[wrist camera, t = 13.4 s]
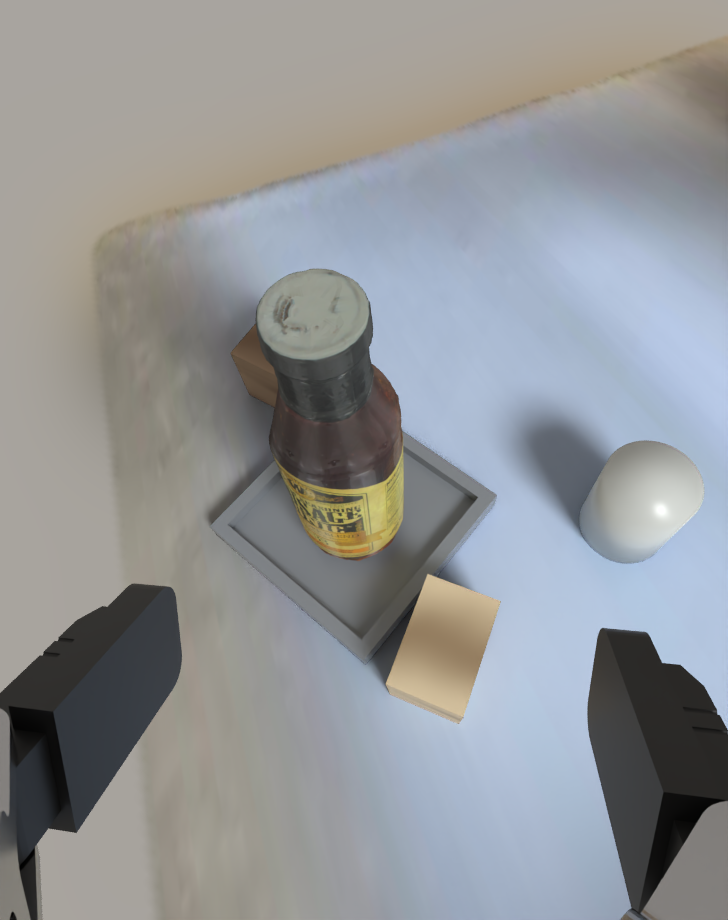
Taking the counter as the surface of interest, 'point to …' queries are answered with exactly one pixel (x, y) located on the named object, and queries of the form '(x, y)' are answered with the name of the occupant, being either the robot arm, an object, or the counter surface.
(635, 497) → the white rounded cylinder
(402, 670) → the oak block
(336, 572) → the tray
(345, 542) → the sauce bottle
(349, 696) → the counter surface
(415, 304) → the counter surface
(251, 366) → the walnut block
